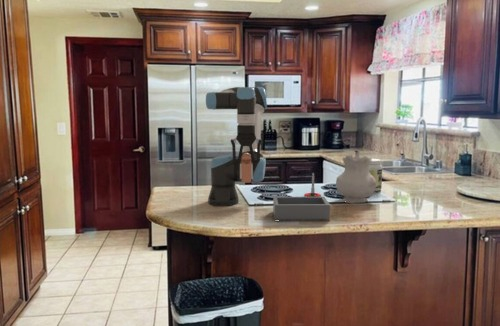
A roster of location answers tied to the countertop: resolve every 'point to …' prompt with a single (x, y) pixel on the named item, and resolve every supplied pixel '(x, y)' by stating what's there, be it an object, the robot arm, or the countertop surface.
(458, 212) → the countertop surface
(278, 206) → the open box
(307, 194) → the tow hook
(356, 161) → the ceramic pitcher
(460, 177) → the countertop surface
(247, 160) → the wooden peg
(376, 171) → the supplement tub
